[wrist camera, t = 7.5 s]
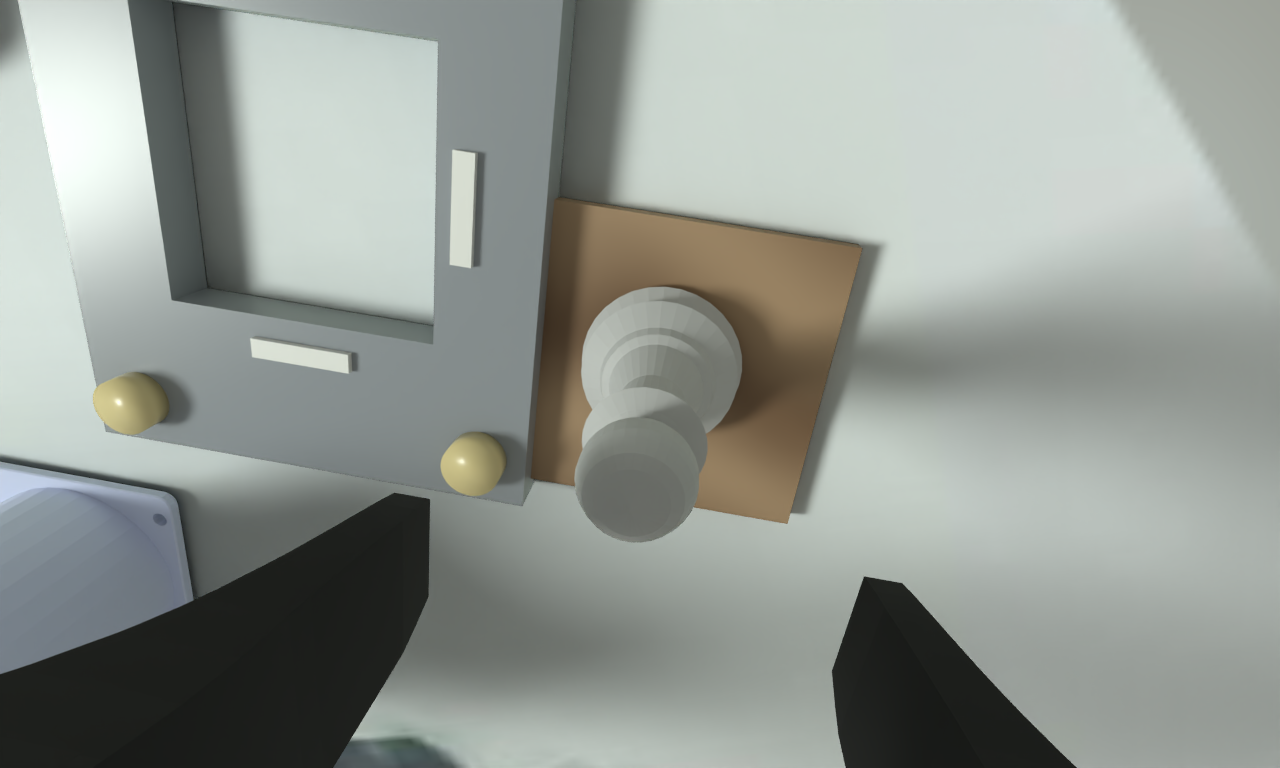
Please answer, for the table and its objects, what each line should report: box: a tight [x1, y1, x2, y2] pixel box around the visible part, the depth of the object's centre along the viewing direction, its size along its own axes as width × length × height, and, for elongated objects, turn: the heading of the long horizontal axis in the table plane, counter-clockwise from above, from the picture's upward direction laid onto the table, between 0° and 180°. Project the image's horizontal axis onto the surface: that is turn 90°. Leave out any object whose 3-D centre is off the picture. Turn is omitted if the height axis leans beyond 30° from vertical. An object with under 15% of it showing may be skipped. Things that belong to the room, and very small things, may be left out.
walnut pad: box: [531, 197, 862, 524], centre depth 20 cm, size 9×9×1 cm
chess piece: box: [574, 287, 742, 542], centre depth 16 cm, size 5×5×8 cm
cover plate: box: [18, 0, 576, 506], centre depth 18 cm, size 18×14×2 cm
